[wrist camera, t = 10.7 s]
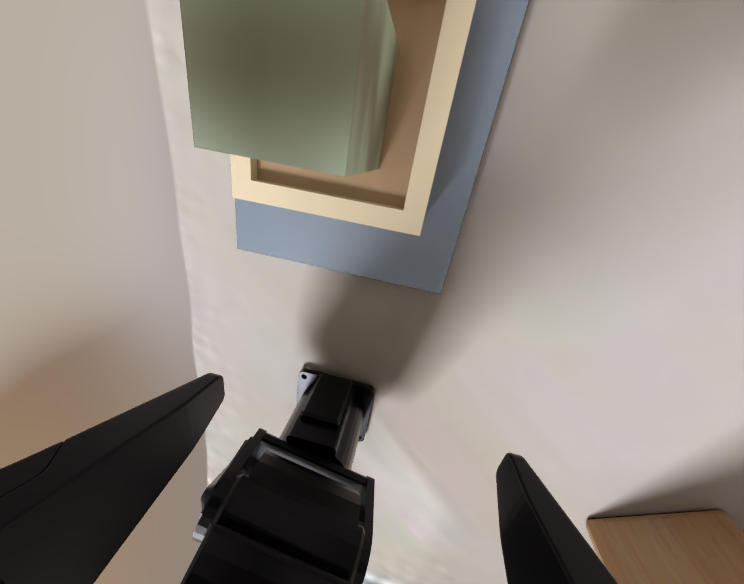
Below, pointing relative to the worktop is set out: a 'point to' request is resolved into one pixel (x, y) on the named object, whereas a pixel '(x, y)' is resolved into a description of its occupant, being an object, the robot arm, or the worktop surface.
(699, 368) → the worktop surface
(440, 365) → the worktop surface
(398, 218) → the build base
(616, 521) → the wooden block
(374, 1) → the sage block
